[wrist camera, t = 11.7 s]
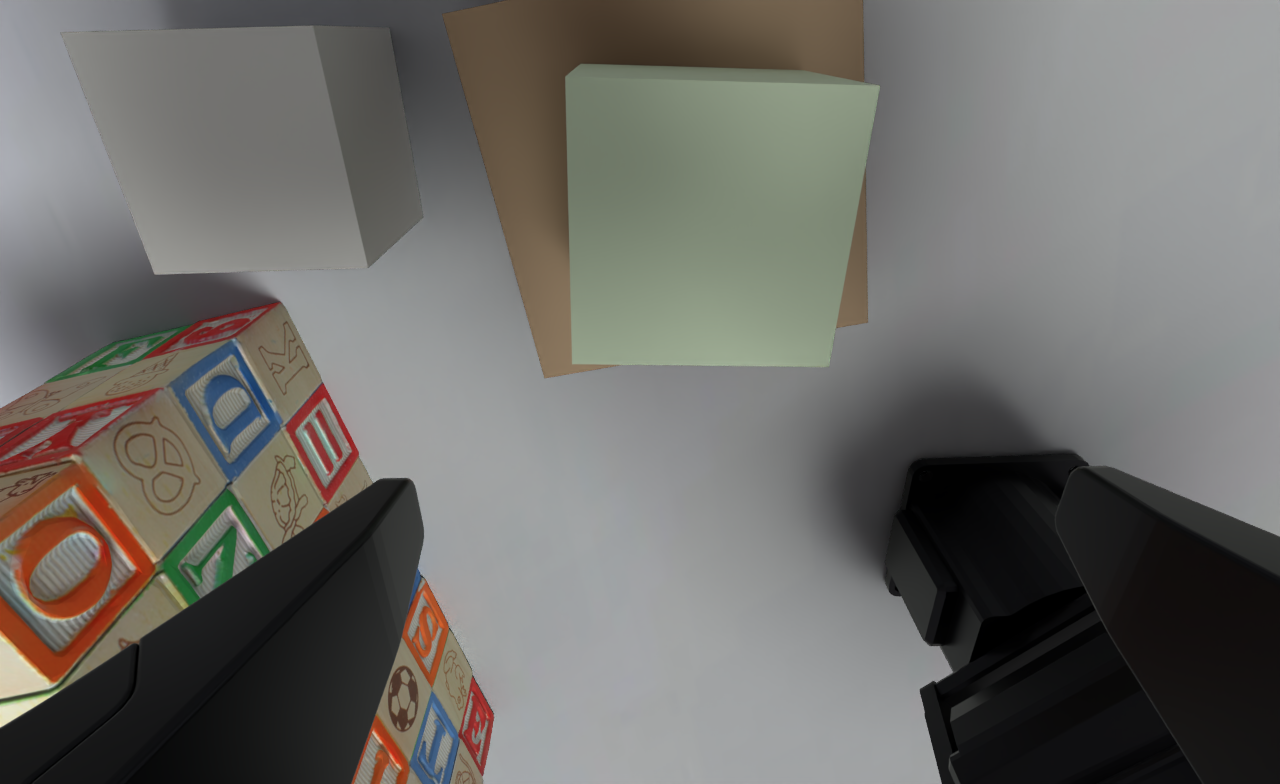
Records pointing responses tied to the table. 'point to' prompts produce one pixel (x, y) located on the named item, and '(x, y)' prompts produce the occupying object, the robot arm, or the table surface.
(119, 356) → the stack of blocks
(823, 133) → the sage cube
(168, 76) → the grey cube
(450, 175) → the table surface
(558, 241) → the walnut block
